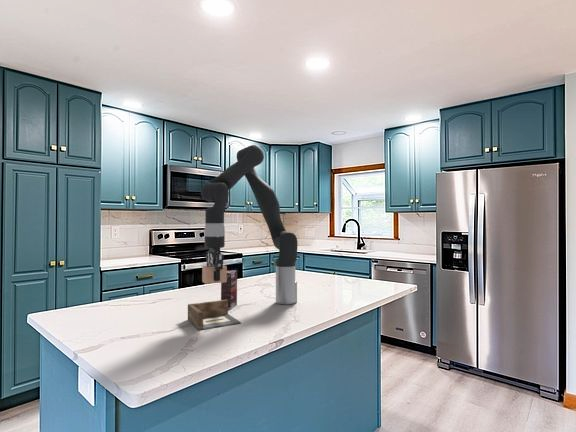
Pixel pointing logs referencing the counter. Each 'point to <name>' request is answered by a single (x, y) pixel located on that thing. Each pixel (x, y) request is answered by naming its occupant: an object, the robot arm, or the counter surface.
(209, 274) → the terracotta block
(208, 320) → the arena
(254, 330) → the counter surface
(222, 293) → the supplement box
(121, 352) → the counter surface
